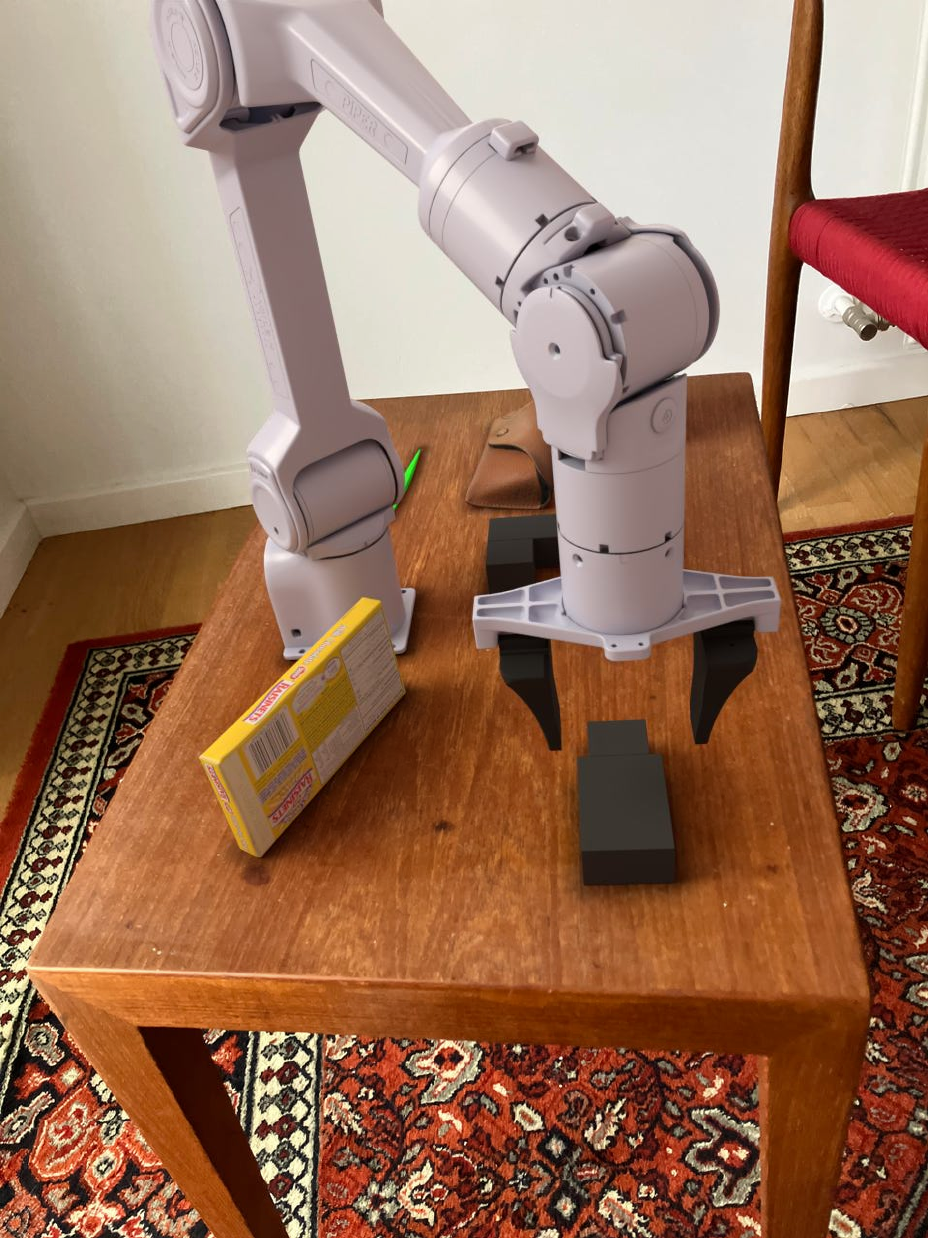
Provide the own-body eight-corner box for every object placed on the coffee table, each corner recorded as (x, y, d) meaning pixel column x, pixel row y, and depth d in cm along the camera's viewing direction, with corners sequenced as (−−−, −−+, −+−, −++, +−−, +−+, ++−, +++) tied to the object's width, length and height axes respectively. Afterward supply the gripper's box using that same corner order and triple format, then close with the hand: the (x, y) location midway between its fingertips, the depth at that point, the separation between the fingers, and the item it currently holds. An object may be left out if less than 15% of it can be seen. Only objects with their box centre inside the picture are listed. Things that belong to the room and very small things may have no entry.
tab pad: (583, 885, 53) (580, 851, 51) (577, 755, 61) (575, 721, 59) (674, 883, 52) (675, 848, 50) (656, 752, 60) (656, 718, 58)
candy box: (383, 686, 68) (362, 593, 63) (408, 693, 67) (387, 600, 62) (235, 848, 58) (194, 753, 53) (261, 861, 57) (222, 765, 52)
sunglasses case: (488, 417, 100) (515, 364, 96) (547, 446, 101) (577, 394, 97) (461, 506, 86) (491, 448, 82) (530, 538, 87) (563, 483, 83)
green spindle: (385, 520, 87) (384, 513, 87) (418, 448, 98) (417, 442, 98) (395, 520, 87) (394, 513, 87) (426, 449, 98) (425, 442, 97)
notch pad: (489, 595, 76) (485, 565, 74) (493, 547, 81) (489, 517, 79) (641, 586, 74) (640, 554, 72) (634, 538, 80) (633, 507, 78)
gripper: (455, 581, 41) (490, 795, 49) (804, 557, 39) (779, 784, 47) (465, 498, 46) (495, 702, 54) (771, 474, 44) (754, 689, 52)
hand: (626, 734), depth 51 cm, fingers open, 7 cm apart
